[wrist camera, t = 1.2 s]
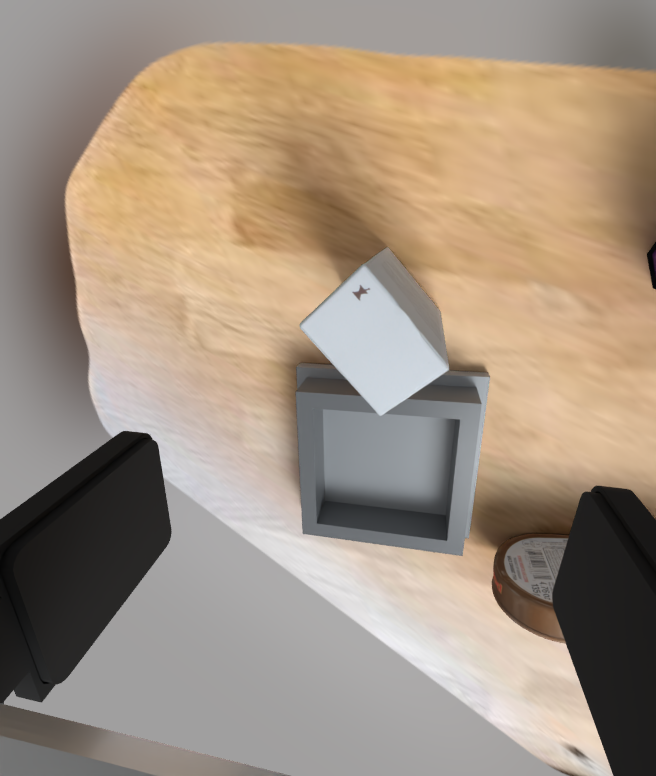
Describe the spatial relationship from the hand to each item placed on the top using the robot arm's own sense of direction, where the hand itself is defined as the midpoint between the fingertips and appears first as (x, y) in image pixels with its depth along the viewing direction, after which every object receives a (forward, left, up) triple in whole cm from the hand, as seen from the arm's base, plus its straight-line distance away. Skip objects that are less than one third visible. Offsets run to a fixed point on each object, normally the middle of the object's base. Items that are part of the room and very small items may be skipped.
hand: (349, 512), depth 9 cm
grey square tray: (+1, +11, -22) cm, 25 cm away
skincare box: (+1, -1, -23) cm, 23 cm away
